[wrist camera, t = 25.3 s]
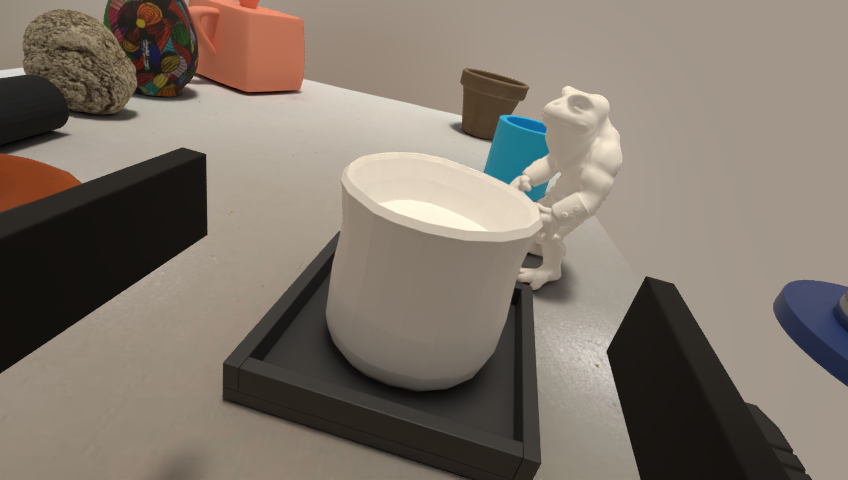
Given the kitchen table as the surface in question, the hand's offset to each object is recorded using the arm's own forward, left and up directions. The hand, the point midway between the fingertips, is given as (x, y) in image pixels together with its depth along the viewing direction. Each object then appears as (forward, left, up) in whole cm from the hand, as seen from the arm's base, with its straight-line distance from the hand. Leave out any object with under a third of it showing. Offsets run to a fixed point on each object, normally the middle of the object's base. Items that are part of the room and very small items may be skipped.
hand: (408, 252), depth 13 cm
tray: (0, -10, -12) cm, 15 cm away
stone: (+42, -31, -12) cm, 54 cm away
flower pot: (0, -70, -12) cm, 71 cm away
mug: (-6, -46, -12) cm, 48 cm away
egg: (+44, -44, -12) cm, 64 cm away
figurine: (-8, -24, -12) cm, 28 cm away
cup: (0, -10, -11) cm, 15 cm away
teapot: (+43, -62, -12) cm, 77 cm away
